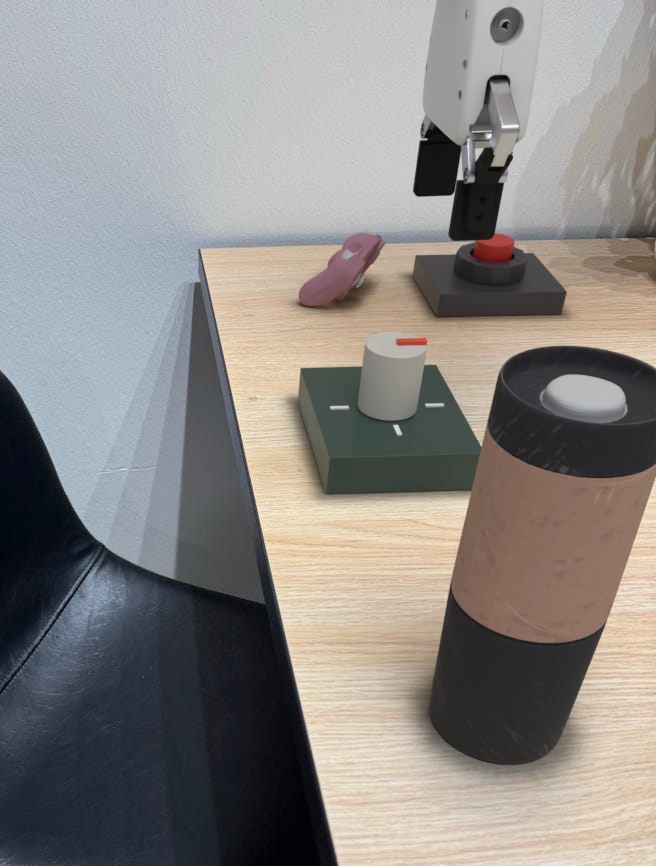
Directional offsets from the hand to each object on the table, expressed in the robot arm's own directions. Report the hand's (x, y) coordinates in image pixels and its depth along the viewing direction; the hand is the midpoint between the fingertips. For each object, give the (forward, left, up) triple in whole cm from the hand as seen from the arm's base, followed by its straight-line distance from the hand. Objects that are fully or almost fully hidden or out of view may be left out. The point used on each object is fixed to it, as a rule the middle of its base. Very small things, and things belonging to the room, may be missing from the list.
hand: (450, 215), depth 78 cm
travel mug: (+5, +39, -14) cm, 42 cm away
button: (-11, -19, -10) cm, 24 cm away
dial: (+5, +9, -11) cm, 15 cm away
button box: (-11, -19, -14) cm, 26 cm away
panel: (+5, +9, -14) cm, 17 cm away
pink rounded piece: (+3, -20, -14) cm, 25 cm away
